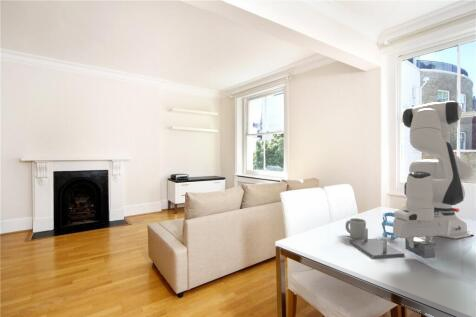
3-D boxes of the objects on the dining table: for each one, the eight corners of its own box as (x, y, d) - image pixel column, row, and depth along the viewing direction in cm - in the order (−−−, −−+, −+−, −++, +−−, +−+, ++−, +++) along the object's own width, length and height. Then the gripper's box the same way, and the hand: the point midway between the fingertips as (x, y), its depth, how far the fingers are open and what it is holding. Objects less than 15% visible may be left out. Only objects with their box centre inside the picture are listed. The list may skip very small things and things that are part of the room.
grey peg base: (376, 240, 115) (376, 226, 115) (404, 256, 98) (404, 239, 98) (349, 242, 113) (349, 227, 113) (373, 258, 96) (373, 241, 96)
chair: (379, 237, 120) (379, 213, 120) (383, 232, 126) (383, 210, 126) (397, 240, 115) (397, 216, 114) (400, 236, 121) (400, 213, 120)
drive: (415, 248, 99) (414, 236, 98) (435, 257, 90) (435, 244, 89) (405, 248, 98) (405, 236, 98) (424, 258, 89) (424, 245, 89)
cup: (361, 241, 114) (361, 223, 114) (342, 235, 122) (342, 218, 122) (368, 238, 119) (368, 220, 118) (349, 232, 127) (349, 216, 126)
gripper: (435, 209, 97) (435, 241, 98) (390, 212, 95) (390, 245, 96) (450, 213, 91) (450, 248, 92) (402, 216, 89) (402, 252, 90)
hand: (419, 246), depth 94 cm, fingers closed on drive, 4 cm apart
